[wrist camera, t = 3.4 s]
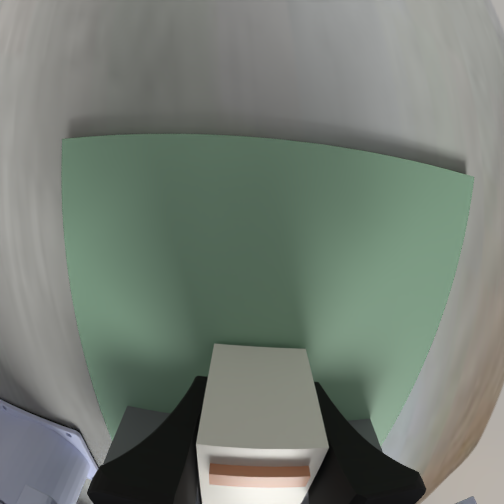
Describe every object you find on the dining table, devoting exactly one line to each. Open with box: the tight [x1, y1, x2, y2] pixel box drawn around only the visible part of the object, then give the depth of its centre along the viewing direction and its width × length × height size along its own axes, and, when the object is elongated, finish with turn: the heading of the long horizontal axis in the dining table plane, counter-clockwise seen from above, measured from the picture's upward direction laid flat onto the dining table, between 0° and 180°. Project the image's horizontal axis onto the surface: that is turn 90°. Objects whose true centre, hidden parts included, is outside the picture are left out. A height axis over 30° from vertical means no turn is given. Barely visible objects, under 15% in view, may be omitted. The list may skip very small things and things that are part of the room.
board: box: [61, 134, 474, 446], centre depth 14 cm, size 18×22×1 cm
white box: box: [196, 343, 329, 504], centre depth 12 cm, size 4×10×6 cm, turn 176°
